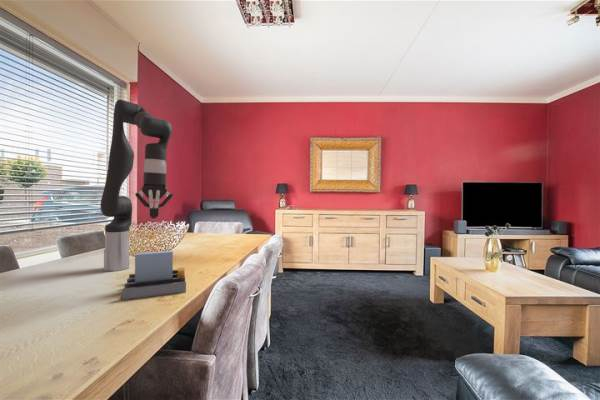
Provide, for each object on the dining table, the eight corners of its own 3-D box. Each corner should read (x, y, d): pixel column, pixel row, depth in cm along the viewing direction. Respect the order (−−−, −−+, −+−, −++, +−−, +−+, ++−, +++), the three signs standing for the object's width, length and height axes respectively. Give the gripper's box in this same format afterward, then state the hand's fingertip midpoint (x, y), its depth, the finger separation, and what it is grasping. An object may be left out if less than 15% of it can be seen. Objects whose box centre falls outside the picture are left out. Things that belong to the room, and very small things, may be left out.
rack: (122, 300, 88) (122, 282, 88) (129, 283, 104) (129, 267, 104) (185, 292, 96) (186, 275, 96) (183, 277, 113) (183, 263, 113)
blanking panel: (134, 288, 96) (135, 254, 96) (135, 286, 99) (135, 253, 98) (172, 284, 101) (172, 252, 101) (172, 281, 104) (172, 250, 104)
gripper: (174, 173, 108) (173, 217, 109) (136, 171, 103) (134, 217, 103) (174, 172, 102) (173, 219, 102) (133, 170, 96) (132, 219, 97)
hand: (153, 218), depth 103 cm, fingers closed
